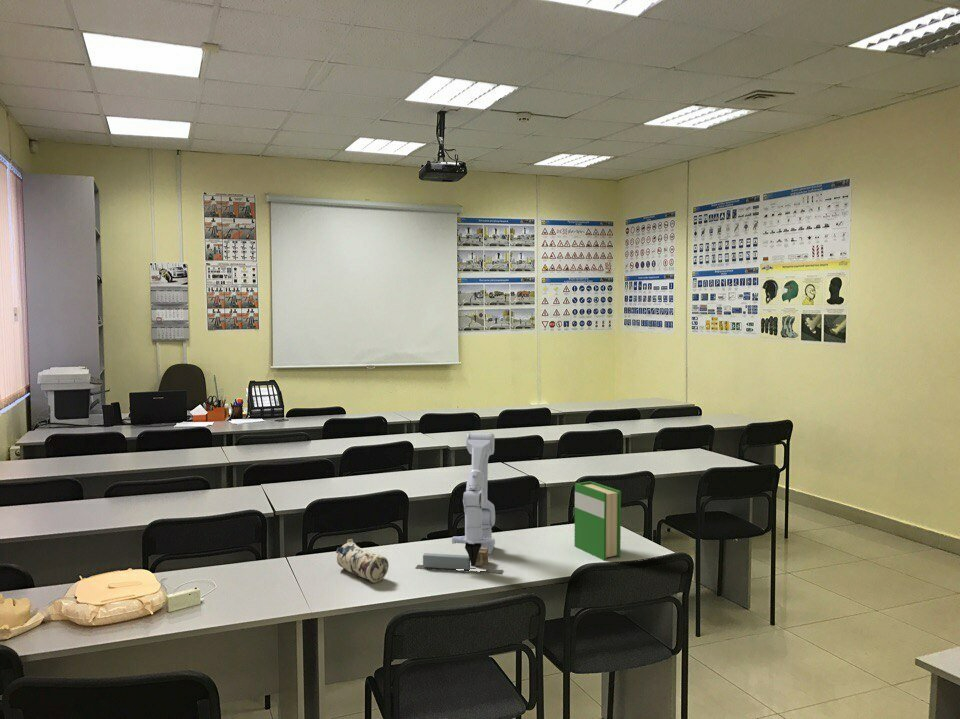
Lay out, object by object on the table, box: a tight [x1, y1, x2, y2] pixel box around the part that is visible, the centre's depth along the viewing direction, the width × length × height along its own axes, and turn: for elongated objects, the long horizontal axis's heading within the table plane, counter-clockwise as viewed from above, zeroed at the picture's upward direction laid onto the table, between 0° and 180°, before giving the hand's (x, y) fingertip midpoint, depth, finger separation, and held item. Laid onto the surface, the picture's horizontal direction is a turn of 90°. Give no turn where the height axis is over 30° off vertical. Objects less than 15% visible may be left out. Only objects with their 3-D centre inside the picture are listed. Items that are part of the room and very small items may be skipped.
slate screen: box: [422, 552, 471, 570], centre depth 247 cm, size 2×16×4 cm, turn 80°
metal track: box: [415, 564, 504, 575], centre depth 246 cm, size 3×30×1 cm, turn 80°
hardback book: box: [574, 480, 622, 561], centre depth 264 cm, size 18×7×24 cm, turn 28°
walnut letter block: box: [476, 548, 489, 567], centre depth 252 cm, size 5×5×5 cm
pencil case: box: [335, 538, 390, 584], centre depth 241 cm, size 22×8×10 cm, turn 42°
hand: (473, 564), depth 245 cm, fingers closed
